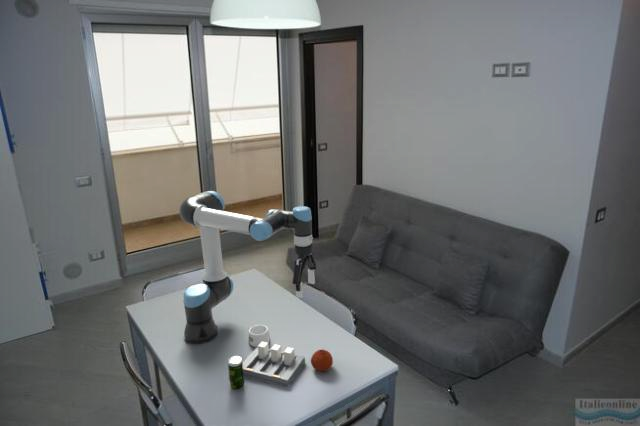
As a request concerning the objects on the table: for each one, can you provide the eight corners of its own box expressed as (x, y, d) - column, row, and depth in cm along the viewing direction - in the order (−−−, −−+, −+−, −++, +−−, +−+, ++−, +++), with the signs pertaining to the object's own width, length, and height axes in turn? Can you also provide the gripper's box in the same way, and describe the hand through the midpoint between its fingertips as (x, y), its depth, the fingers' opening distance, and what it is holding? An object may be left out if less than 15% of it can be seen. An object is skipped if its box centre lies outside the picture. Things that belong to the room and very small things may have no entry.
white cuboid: (271, 361, 187) (270, 348, 185) (275, 356, 190) (274, 344, 188) (277, 362, 185) (277, 350, 184) (281, 358, 189) (281, 345, 187)
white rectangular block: (258, 358, 189) (257, 346, 187) (262, 353, 192) (262, 341, 190) (265, 359, 188) (264, 347, 186) (269, 355, 191) (268, 342, 189)
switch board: (238, 374, 181) (238, 367, 181) (258, 352, 196) (258, 345, 195) (287, 386, 173) (287, 379, 172) (304, 362, 187) (304, 356, 187)
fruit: (311, 361, 188) (310, 345, 186) (332, 361, 188) (332, 345, 185) (310, 375, 180) (309, 358, 177) (332, 375, 179) (332, 358, 177)
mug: (274, 341, 204) (273, 329, 202) (257, 350, 197) (256, 338, 195) (258, 331, 212) (257, 319, 210) (241, 339, 205) (240, 328, 204)
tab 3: (284, 364, 184) (283, 351, 183) (288, 359, 187) (287, 346, 186) (291, 366, 183) (290, 353, 181) (294, 361, 186) (294, 348, 185)
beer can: (238, 380, 178) (235, 353, 174) (247, 385, 175) (245, 359, 171) (227, 387, 174) (224, 360, 170) (236, 393, 171) (233, 366, 167)
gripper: (299, 255, 175) (302, 304, 181) (322, 234, 197) (323, 279, 203) (282, 253, 178) (285, 302, 184) (306, 233, 200) (308, 277, 206)
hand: (305, 290), depth 194 cm, fingers open, 13 cm apart
